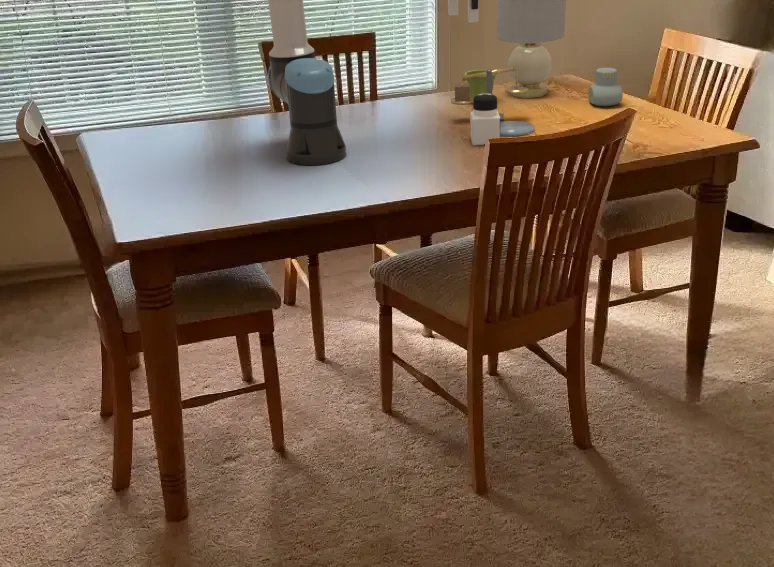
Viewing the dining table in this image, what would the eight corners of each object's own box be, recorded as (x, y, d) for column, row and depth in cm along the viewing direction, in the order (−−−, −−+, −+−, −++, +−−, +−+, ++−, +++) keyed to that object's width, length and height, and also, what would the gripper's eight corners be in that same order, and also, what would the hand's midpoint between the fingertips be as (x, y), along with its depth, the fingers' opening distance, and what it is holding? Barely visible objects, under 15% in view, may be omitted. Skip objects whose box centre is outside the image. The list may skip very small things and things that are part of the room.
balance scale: (450, 123, 239) (449, 69, 232) (451, 117, 245) (450, 64, 238) (528, 122, 236) (529, 67, 230) (527, 116, 242) (528, 62, 235)
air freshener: (623, 108, 244) (626, 73, 240) (594, 109, 245) (596, 74, 240) (614, 98, 254) (616, 64, 250) (586, 100, 254) (588, 66, 250)
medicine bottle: (500, 144, 219) (500, 98, 214) (472, 146, 219) (472, 99, 214) (497, 136, 226) (497, 91, 220) (470, 138, 226) (470, 92, 221)
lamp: (576, 95, 261) (581, -29, 245) (520, 105, 253) (523, -21, 237) (536, 83, 277) (539, -34, 261) (483, 92, 269) (483, -27, 254)
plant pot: (461, 99, 262) (461, 71, 259) (491, 96, 264) (491, 68, 260) (469, 107, 254) (469, 77, 250) (500, 104, 255) (500, 74, 252)
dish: (503, 139, 223) (503, 136, 223) (481, 128, 233) (481, 125, 233) (543, 131, 227) (543, 128, 227) (519, 121, 237) (519, 118, 237)
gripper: (496, -65, 214) (495, 23, 223) (456, -70, 235) (457, 11, 244) (468, -63, 212) (468, 26, 221) (431, -68, 233) (433, 13, 242)
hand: (463, 18), depth 233 cm, fingers open, 13 cm apart
